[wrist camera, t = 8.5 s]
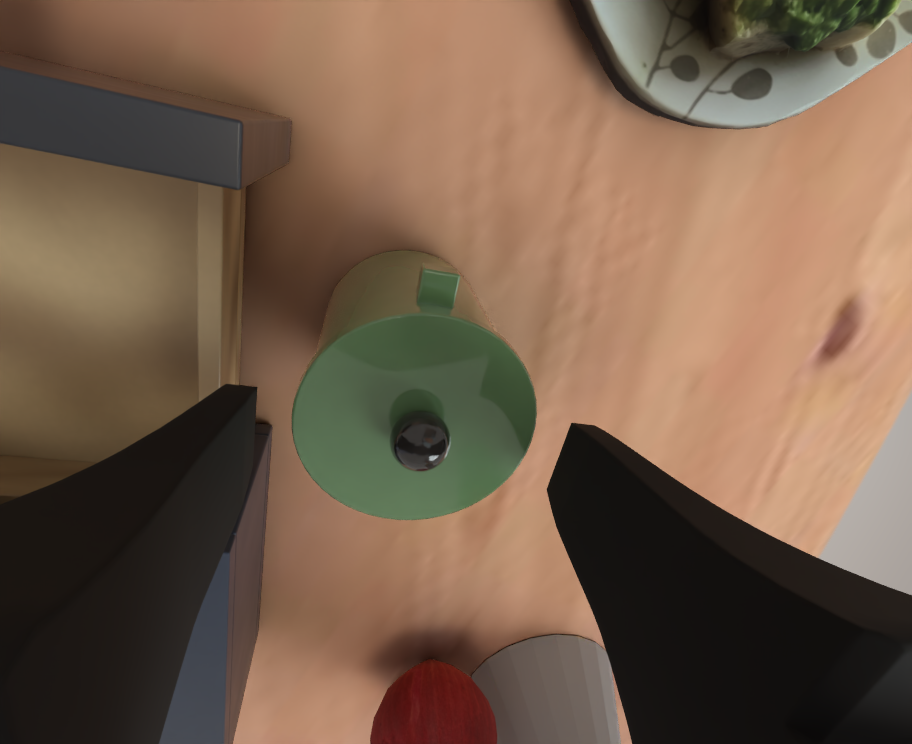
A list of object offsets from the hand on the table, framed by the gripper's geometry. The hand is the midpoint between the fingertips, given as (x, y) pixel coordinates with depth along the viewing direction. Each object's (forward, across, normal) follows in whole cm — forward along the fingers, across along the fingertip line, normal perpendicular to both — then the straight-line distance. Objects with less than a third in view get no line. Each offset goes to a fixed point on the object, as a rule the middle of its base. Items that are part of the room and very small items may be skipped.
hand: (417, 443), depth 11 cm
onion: (+7, -4, +19) cm, 20 cm away
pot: (+7, 0, 0) cm, 7 cm away
